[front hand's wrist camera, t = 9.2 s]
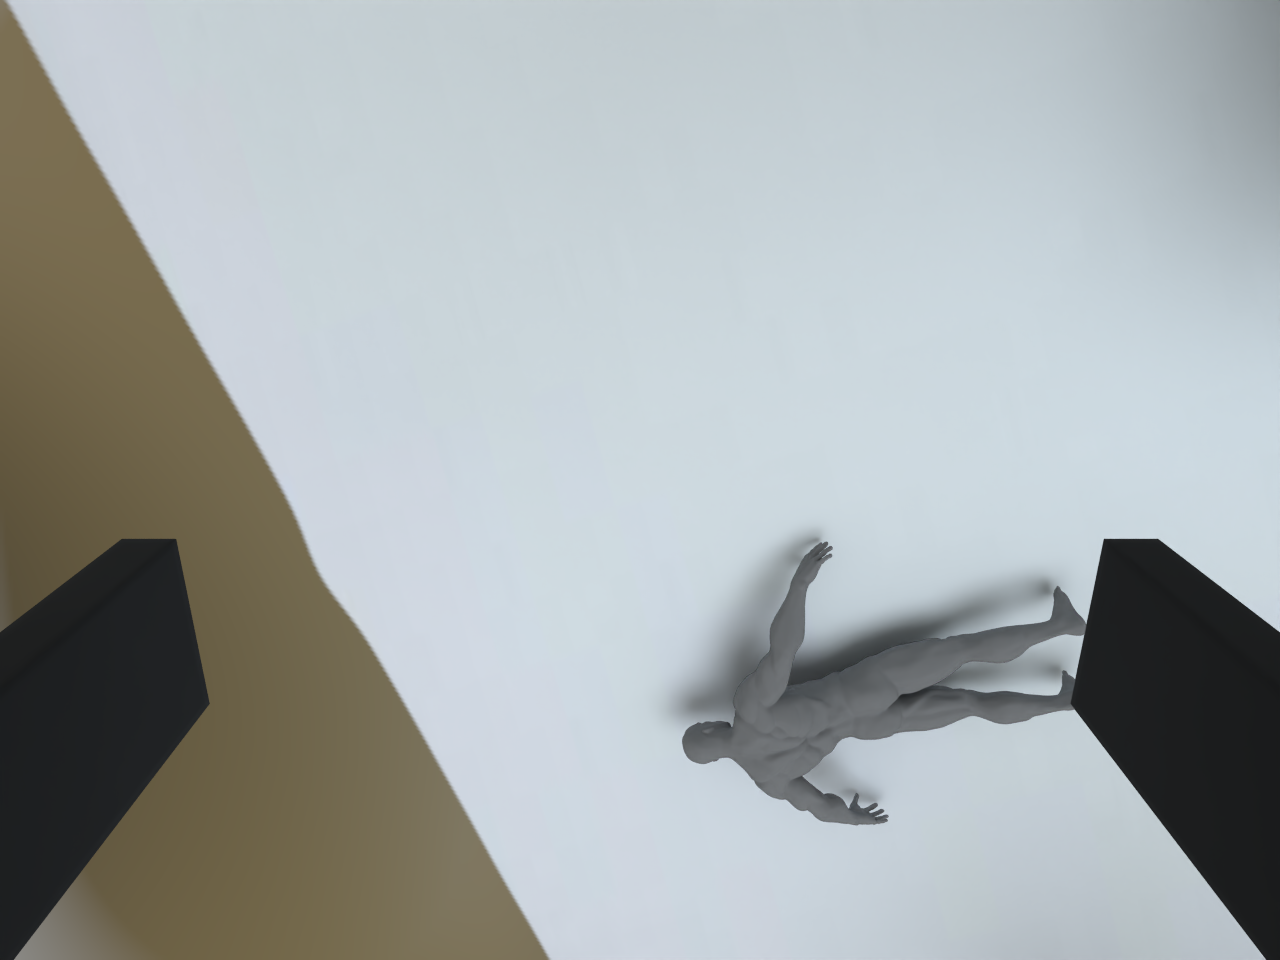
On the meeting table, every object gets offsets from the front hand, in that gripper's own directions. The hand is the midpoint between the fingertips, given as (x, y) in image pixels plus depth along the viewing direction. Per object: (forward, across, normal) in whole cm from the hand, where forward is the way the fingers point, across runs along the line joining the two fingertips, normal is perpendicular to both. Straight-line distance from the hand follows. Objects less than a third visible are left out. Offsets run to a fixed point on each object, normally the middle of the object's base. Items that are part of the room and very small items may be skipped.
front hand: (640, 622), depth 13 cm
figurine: (+28, +12, -19) cm, 36 cm away
